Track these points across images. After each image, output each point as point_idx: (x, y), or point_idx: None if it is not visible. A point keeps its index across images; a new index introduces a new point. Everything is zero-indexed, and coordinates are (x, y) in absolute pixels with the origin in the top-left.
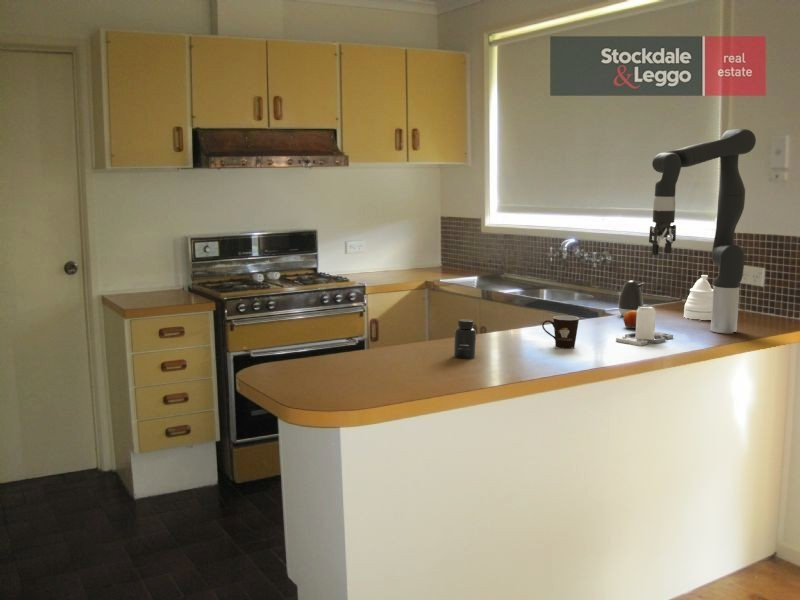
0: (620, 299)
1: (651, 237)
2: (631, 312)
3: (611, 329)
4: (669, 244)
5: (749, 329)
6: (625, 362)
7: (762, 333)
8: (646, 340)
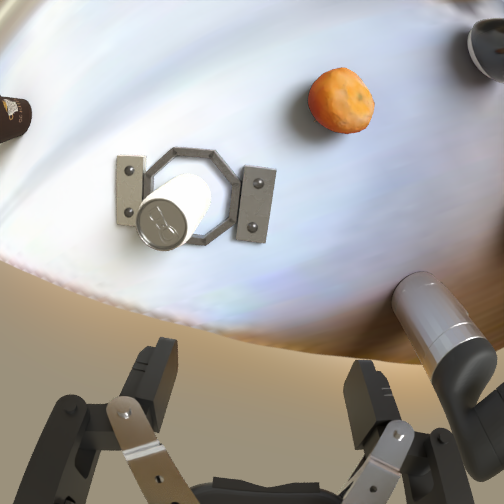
0: (489, 21)
1: (65, 445)
2: (324, 96)
3: (270, 60)
4: (356, 438)
5: None
6: (13, 260)
7: None
8: None
